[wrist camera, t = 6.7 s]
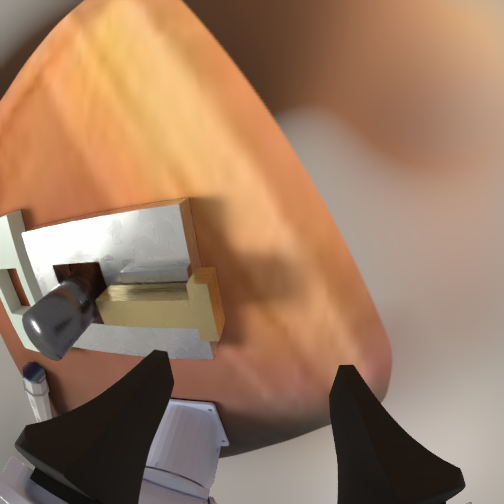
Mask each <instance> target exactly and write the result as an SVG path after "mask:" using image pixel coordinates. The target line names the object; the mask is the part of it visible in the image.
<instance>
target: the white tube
mask: <svg viewBox="0 0 504 504" xmlns="http://www.w3.org/2000/svg"><path fill="white" fill-rule="evenodd" d="M22 368H23V376H24V380H23V383H24V390H25V392H26V393H28V397H29V399H30V402H31V406H32V409H33V411H34V414H35V416H36V419H37V422H42V421H46V420H49V419H52V416H51V411H50V405H49V398H48V392H49V391H50V390H49V386H48V382H47V381H46V375H45V370H44V369H43V368H42V367H40V366H39V365H38V364H36V363H35V362H28V363H26V364H25V365H24V366H23V367H22Z"/></svg>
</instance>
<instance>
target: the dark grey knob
mask: <svg viewBox="0 0 504 504" xmlns="http://www.w3.org/2000/svg"><path fill="white" fill-rule="evenodd" d="M106 289H107V286H106V283H105V280H104V277H103V273H102V270H101V267H100V265H99V264H97V263H93V262H89V263H86V264H84V265H83V266H81V267H80V268H79V269H78V270H76V271H75V272H74V273H72V274H71V275H70V276H69V277H67V278H66V279H65V280H63V281H62V282H61V283H60V284H58V285H57V286H56V287H55V288H53V289H52V290H51V291H50V292H49V293H47V294H46V295H45V296H44V297H43V298H41V299H40V300H39V301H38V302H37V303H36V304H34V305H33V306H32V307H31V308H30V309H29V310H27V311H26V312H25V313H24V314H23V316H22V324H23V328H24V330H25V332H26V334H27V336H28V338H29V340H30V341H31V342H32V344H33V345H34V346H35V347H36V348H37V349H38V350H39V351H40V352H41V353H42V354H43V355H44V356H46V357H47V358H49V359H51V360H55V361H59V360H61V359H62V358H63V356H64V355H65V354H66V353H67V352H68V350H69V349H70V348H71V347H72V346H73V344H74V343H75V342H76V341H77V340H78V339H79V337H80V336H81V335H82V334H83V333H84V332H85V330H86V329H87V328H88V327H89V326H90V325H91V324H92V322H93V321H94V320H95V319H96V318H97V317H98V316H99V315H100V312H99V309H98V307H97V304H96V302H95V300H96V299H97V298H98V297H99V296H100V295H101V294H102V293H103V292H104V291H105V290H106Z"/></svg>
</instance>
